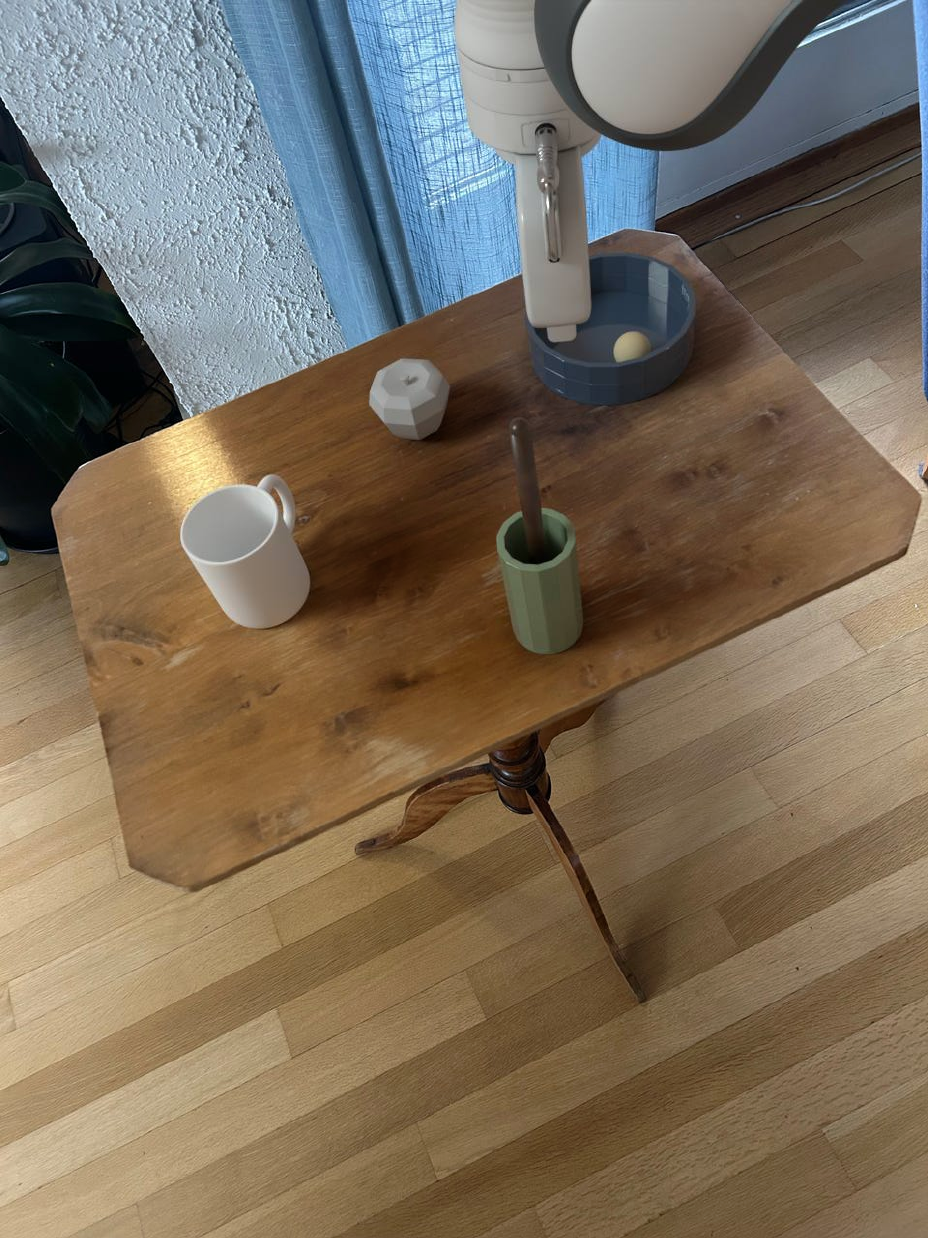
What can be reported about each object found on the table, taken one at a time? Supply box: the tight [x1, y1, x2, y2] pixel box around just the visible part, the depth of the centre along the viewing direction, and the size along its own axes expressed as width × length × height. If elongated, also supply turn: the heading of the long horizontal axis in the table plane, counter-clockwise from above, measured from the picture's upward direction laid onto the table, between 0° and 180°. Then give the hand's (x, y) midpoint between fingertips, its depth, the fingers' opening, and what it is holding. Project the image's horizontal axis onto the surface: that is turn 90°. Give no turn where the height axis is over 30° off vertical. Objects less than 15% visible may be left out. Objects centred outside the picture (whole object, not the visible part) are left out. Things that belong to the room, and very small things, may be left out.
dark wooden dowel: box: [508, 417, 548, 565], centre depth 72 cm, size 2×1×24 cm, turn 118°
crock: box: [495, 507, 584, 655], centre depth 78 cm, size 6×6×12 cm
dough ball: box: [614, 331, 652, 362], centre depth 95 cm, size 4×4×4 cm
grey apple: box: [368, 357, 451, 441], centre depth 95 cm, size 8×8×7 cm
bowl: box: [524, 251, 697, 406], centre depth 97 cm, size 16×16×5 cm
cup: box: [179, 473, 311, 630], centre depth 86 cm, size 8×12×10 cm
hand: (559, 285), depth 66 cm, fingers open, 8 cm apart
